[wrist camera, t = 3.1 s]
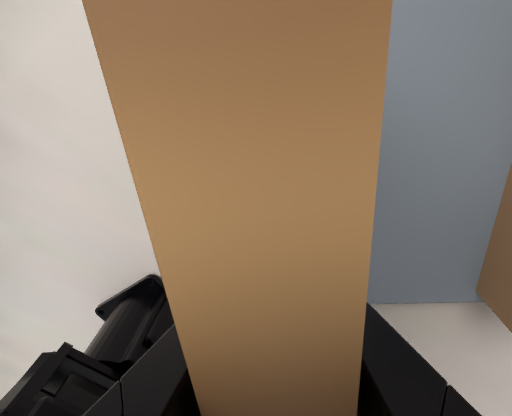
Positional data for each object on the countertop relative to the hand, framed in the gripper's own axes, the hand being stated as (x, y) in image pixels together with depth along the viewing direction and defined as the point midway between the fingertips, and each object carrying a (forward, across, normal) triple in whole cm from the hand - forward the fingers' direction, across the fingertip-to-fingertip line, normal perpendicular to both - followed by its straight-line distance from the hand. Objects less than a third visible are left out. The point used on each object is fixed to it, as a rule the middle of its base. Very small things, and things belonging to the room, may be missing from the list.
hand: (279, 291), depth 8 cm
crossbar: (+5, 0, 0) cm, 5 cm away
